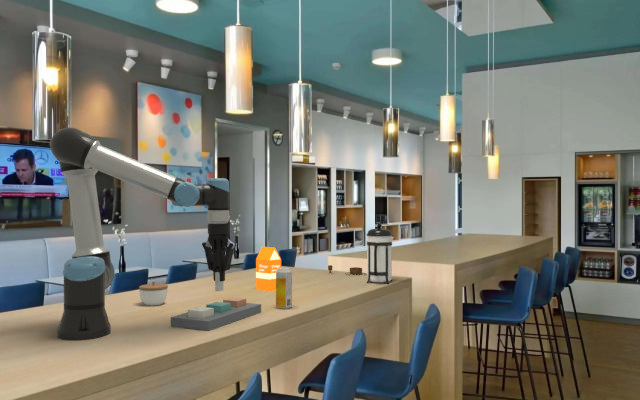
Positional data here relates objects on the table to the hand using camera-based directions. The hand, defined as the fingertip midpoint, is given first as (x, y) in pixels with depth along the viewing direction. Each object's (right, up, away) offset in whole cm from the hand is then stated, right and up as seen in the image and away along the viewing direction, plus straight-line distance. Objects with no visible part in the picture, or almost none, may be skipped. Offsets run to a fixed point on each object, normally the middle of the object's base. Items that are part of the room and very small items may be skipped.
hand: (219, 290), depth 189 cm
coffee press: (+65, -10, +81) cm, 104 cm away
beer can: (+21, -10, +20) cm, 31 cm away
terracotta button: (+4, -8, +9) cm, 13 cm away
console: (0, -10, 0) cm, 10 cm away
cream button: (-4, -8, -9) cm, 13 cm away
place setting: (+52, -11, +114) cm, 126 cm away
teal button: (0, -8, 0) cm, 8 cm away
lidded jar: (-30, -10, +25) cm, 41 cm away
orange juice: (+11, -10, +61) cm, 63 cm away
